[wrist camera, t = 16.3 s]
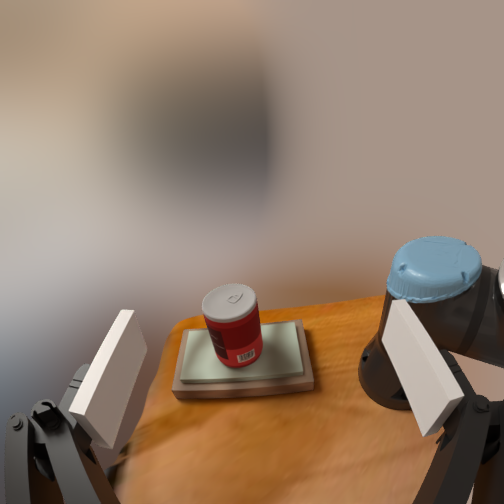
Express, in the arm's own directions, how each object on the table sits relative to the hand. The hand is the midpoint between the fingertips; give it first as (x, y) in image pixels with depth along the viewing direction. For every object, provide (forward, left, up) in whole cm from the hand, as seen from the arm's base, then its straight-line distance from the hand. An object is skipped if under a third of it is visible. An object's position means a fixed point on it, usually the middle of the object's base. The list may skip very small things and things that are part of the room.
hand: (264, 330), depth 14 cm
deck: (-4, -22, -30) cm, 37 cm away
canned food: (-4, -22, -27) cm, 35 cm away
